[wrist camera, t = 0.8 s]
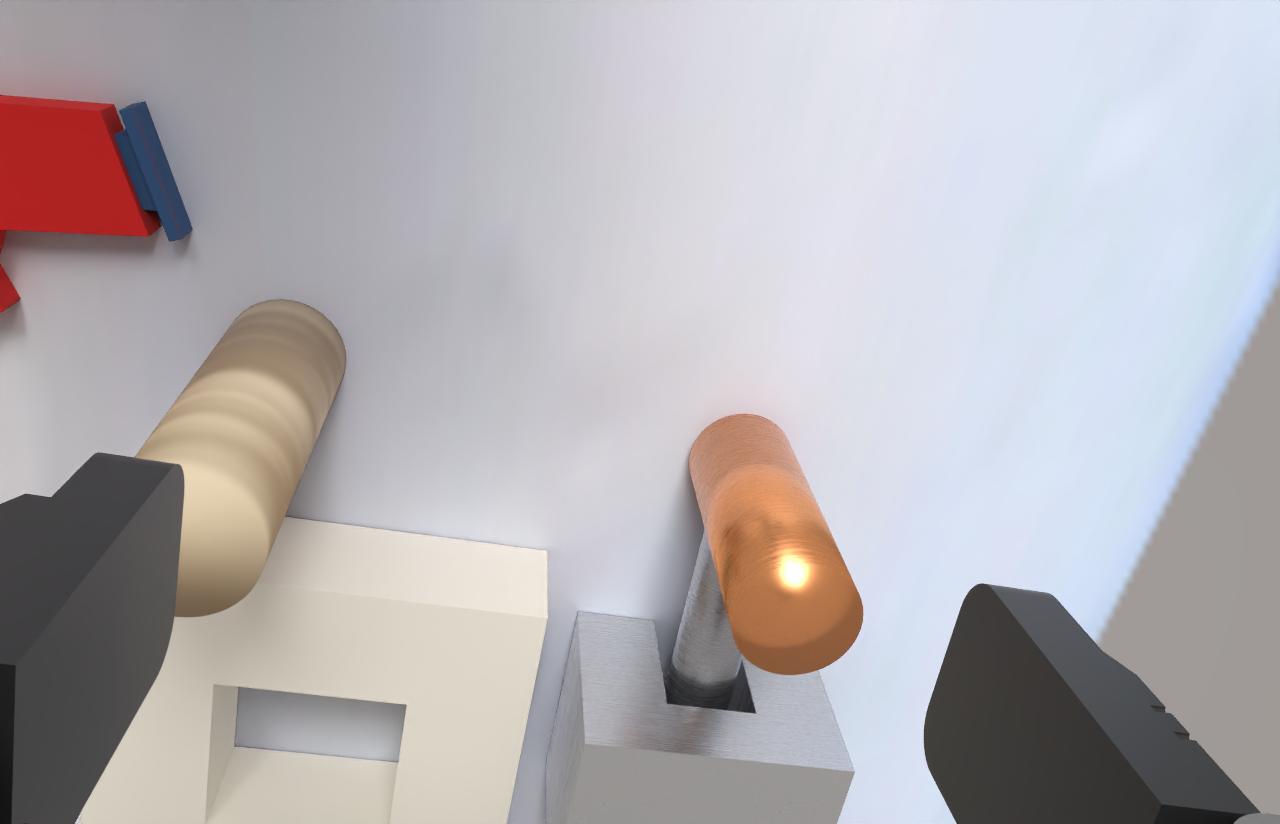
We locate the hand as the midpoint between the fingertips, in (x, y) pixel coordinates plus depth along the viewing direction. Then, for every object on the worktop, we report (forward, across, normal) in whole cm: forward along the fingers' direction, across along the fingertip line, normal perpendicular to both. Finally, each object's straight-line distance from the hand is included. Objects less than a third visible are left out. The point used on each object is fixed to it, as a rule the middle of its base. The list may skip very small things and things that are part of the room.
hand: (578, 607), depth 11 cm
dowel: (+20, +6, +5) cm, 21 cm away
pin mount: (+21, -7, +14) cm, 26 cm away
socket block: (+21, +4, +16) cm, 26 cm away
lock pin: (+20, -7, +12) cm, 24 cm away
